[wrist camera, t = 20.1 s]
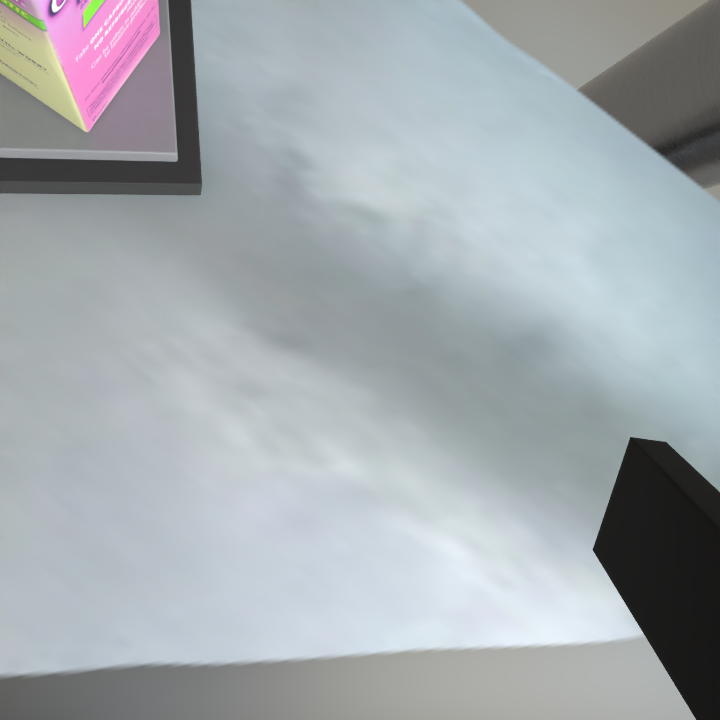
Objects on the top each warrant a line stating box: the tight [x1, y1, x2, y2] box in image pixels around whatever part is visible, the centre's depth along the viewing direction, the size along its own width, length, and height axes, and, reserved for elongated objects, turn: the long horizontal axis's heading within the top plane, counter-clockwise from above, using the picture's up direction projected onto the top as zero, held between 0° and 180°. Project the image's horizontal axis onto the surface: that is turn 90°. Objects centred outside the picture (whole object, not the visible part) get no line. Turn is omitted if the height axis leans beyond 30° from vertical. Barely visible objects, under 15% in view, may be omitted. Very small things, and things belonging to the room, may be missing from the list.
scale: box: [0, 0, 202, 195], centre depth 27 cm, size 14×14×3 cm
